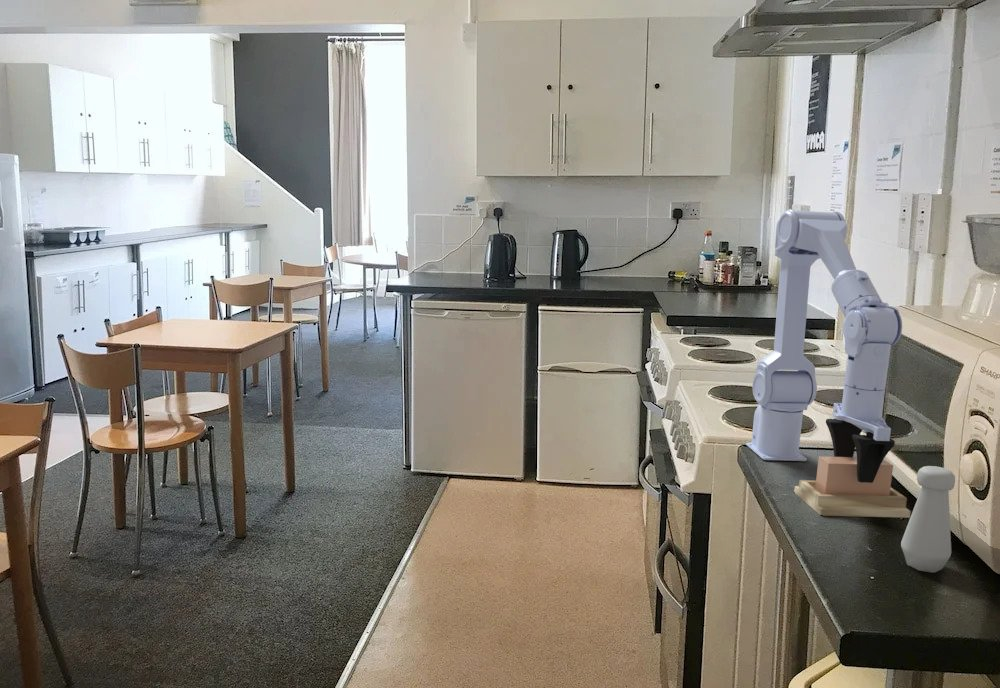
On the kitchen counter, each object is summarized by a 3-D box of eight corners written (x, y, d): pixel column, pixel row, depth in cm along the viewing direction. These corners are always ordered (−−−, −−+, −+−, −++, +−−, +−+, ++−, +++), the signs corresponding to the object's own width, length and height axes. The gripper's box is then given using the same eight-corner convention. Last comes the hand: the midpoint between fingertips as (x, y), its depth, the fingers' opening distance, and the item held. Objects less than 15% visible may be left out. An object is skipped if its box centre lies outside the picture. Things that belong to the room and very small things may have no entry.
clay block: (814, 493, 136) (818, 456, 135) (877, 495, 136) (881, 458, 135) (824, 501, 132) (828, 463, 131) (888, 503, 133) (893, 465, 132)
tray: (794, 492, 139) (795, 477, 139) (877, 494, 140) (879, 479, 139) (820, 515, 129) (822, 499, 129) (909, 517, 130) (911, 501, 130)
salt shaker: (897, 568, 112) (910, 470, 109) (900, 552, 117) (912, 458, 114) (948, 579, 109) (962, 479, 107) (949, 563, 114) (963, 467, 112)
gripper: (818, 375, 138) (808, 457, 141) (861, 397, 124) (849, 488, 126) (861, 376, 139) (851, 459, 141) (909, 398, 124) (897, 490, 127)
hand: (853, 473), depth 134 cm, fingers open, 7 cm apart
